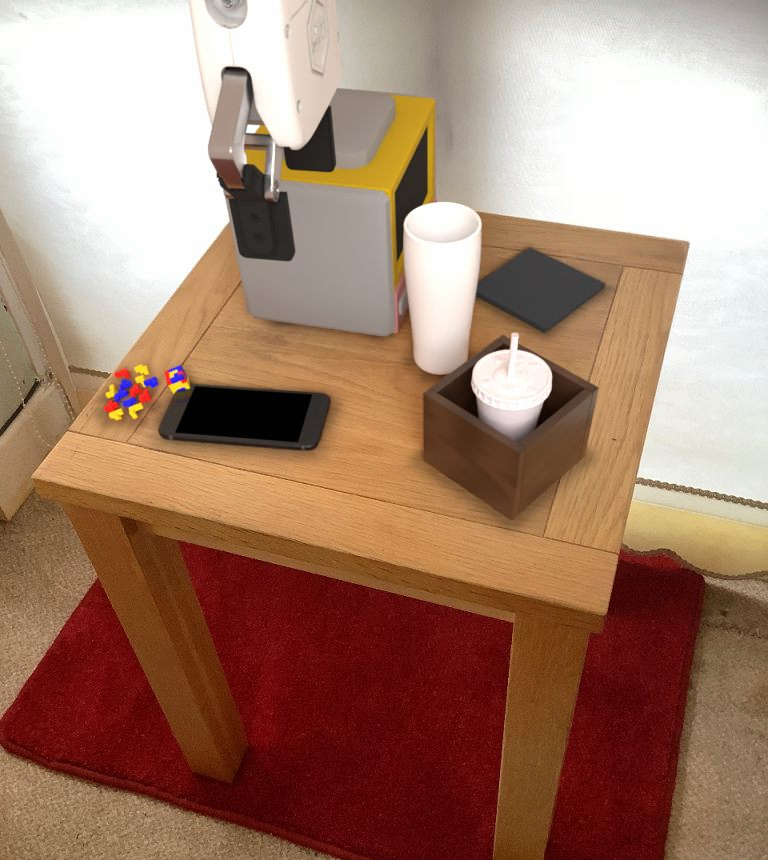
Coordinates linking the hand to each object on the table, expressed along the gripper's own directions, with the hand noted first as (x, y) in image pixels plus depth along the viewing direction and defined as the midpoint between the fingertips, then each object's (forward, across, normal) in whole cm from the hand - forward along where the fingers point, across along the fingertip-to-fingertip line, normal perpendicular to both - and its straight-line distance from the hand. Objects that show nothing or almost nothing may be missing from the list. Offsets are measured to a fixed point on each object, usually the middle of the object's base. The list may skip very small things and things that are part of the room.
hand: (291, 210), depth 52 cm
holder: (+28, +8, -14) cm, 32 cm away
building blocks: (+26, +10, +21) cm, 34 cm away
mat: (+28, +32, -14) cm, 45 cm away
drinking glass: (+28, +20, -6) cm, 34 cm away
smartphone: (+27, +8, +10) cm, 30 cm away
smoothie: (+28, +8, -14) cm, 32 cm away
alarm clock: (+28, +30, +5) cm, 41 cm away
